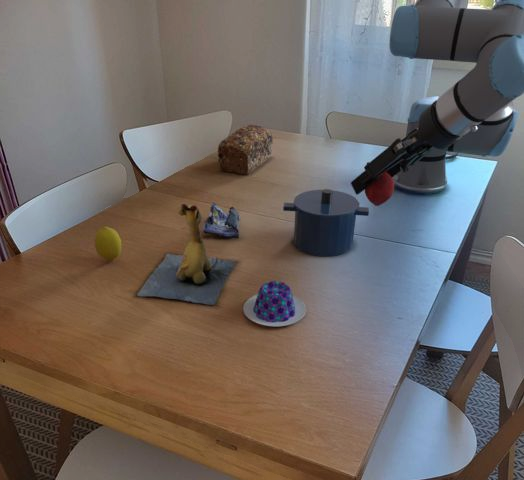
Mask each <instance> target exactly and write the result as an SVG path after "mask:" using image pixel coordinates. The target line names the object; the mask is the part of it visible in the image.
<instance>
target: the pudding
mask: <svg viewBox="0 0 524 480" xmlns="http://www.w3.org/2000/svg"><path fill="white" fill-rule="evenodd" d="M242 309H243V310H242V311H243V313H244V315H245V316H246V318H248V319H249V320H250V321H252V322H254V323H256V324H258V325H261V326H266V327H284V326H289V325H294V324H295V323H297V322H299V321H301V320H302V319H303V318H304V317H305V315H306V313H307V306H306V304H305V303H304V302H303V300H302V299H300V298H299V297H297V296H296V295H293V293H292V288H291V286H289V285H288V284H286V283H285V282H282V281H276V280H273V281H272V280H271V281H269V282H265V283H263V284H262V285H261V287H260V288H259V289H258V292H257V294H254V295H253V296H251V297H250V298H248V299H247V300H246V301H245V302H244V303H243V307H242Z"/></svg>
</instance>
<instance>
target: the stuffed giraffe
mask: <svg viewBox="0 0 524 480" xmlns="http://www.w3.org/2000/svg"><path fill="white" fill-rule="evenodd" d="M177 213H178V214H179V215H180V216H185V218H186V224H187V227H188V232H189V241H188V243H187V246H186V248H185V250H184V252H183V254H182V255H181V254H172V253H169V252H167V253H166V254H165V256H164V257H163V260H162V261H161V262H160V264H158V265H157V267H156V268H155V269H154V271H153V272H152V273H151V274H150V275H149V277H148V278H147V280H146V281H145V282H144V284H143V285H142V287H141V289H140V290H139V291H138V292H137V294H136V296H137V297H141V298H143V297H157V298H163V299H171V300H172V299H173V300H180V301H186V302H192V303H194V304H204V305H207V306H209V305H211V306H212V305H213V306H215V305H216V303H217V301H218V298H219V296H220V294H221V293H222V292H221V291H222V290H223V287H224V285H225V283H226V281H227V279H228V278H229V276H230V274H231V272H232V270H233V269H234V267H235V266H236V264H237V261H238V260H225V259H220V258H218V257H208V255H207V251H206V246H205V242H204V239H203V237H202V234H201V230H200V229H201V228H200V224H201V222H202V215H201V211H200V210H199V208H198V206H197V205H196V204H189V205H187V204H186V203H182V204H181V205H180V206H179V207H178V209H177Z"/></svg>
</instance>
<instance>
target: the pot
mask: <svg viewBox="0 0 524 480" xmlns="http://www.w3.org/2000/svg"><path fill="white" fill-rule="evenodd" d="M282 208H283V209H282V210H283V211H284V212H294V227H293V228H294V229H293V230H294V231H293V233H294V234H293V244H294V246H295V248H297V249H298V250H299V251H300V252H303V253H305V254H308V255H311V256H316V257H337V256H340V255H343V254H345V253H348V252H349V251H350V250H351V249H352V248H353V245H354V236H355V234H354V233H355V226H356V219H357V218H356V217H357V216H366V217H368V216H369V213H370V210H369V208H370V207H368V206H367V207H366V206H365V207H364V206H359V208H358V210H357V211H356V212H354V213H353V214H350V215H347V216H343V217H334V218H327V217H317V216H312V215H308V214H305V213H303V212H301V211H299V210H298V209H297V208H296V207H295V206H294V202H284V203H283V207H282Z"/></svg>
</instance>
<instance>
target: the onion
mask: <svg viewBox="0 0 524 480" xmlns="http://www.w3.org/2000/svg"><path fill="white" fill-rule="evenodd" d="M394 193H395V187H394V181H393V179H392V177H391V176H390V175H389V174H388V173H387V172H384V173H383V174H382V175H380V176H379V179H377V180H376V181H375V182H374V183H372V184H371V185H370V186H368V187H367V188H366V189H365V190H364V194H365V197H366V198H367V200H368V201H369V202H370V203H371V204H373V206H374V207H379V206H382V205H383V204H385V203H386V202H388V201H389V200H390V199H391V198H392V197H393V195H394Z"/></svg>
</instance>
